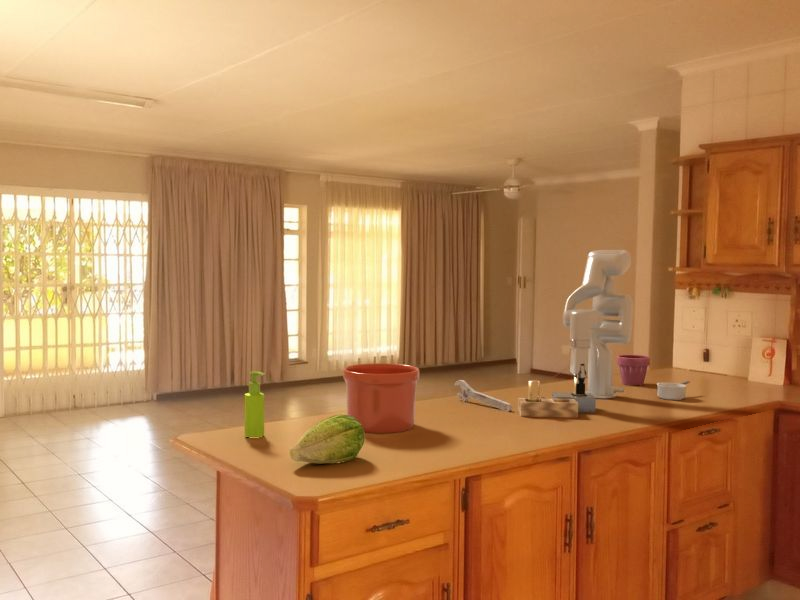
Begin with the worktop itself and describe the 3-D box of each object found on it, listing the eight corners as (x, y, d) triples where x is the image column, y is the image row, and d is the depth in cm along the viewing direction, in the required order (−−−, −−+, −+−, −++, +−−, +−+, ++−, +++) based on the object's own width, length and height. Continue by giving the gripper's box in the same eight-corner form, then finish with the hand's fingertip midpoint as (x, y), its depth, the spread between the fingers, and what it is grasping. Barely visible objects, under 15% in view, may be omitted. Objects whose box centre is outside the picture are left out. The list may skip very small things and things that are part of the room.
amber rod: (538, 413, 257) (538, 380, 256) (539, 415, 253) (540, 382, 252) (527, 413, 257) (527, 380, 256) (528, 415, 253) (529, 381, 252)
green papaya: (272, 441, 190) (293, 421, 180) (337, 420, 204) (360, 401, 195) (290, 486, 186) (313, 469, 176) (356, 461, 200) (380, 444, 191)
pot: (332, 421, 240) (333, 365, 239) (400, 415, 250) (401, 361, 249) (358, 438, 217) (358, 376, 217) (431, 431, 227) (432, 371, 226)
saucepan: (701, 396, 294) (701, 383, 294) (677, 402, 281) (678, 388, 281) (675, 392, 303) (675, 379, 303) (650, 398, 290) (651, 384, 289)
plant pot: (611, 381, 329) (612, 354, 328) (640, 381, 331) (641, 354, 330) (624, 387, 315) (625, 358, 314) (654, 386, 316) (655, 358, 316)
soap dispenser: (257, 440, 214) (257, 374, 213) (240, 437, 217) (240, 372, 216) (270, 436, 219) (270, 371, 218) (254, 433, 222) (254, 369, 221)
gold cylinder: (583, 408, 266) (583, 376, 265) (585, 410, 262) (586, 378, 261) (572, 408, 266) (572, 376, 265) (574, 410, 262) (575, 378, 261)
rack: (573, 412, 258) (573, 399, 258) (577, 417, 250) (578, 403, 250) (518, 411, 259) (518, 398, 259) (520, 416, 251) (520, 402, 251)
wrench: (507, 419, 259) (452, 398, 282) (511, 419, 260) (456, 397, 283) (510, 398, 258) (454, 378, 281) (513, 398, 259) (458, 378, 282)
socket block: (589, 407, 269) (589, 392, 268) (595, 412, 259) (595, 397, 258) (552, 406, 269) (552, 392, 269) (556, 411, 259) (556, 396, 259)
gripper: (565, 341, 271) (564, 389, 272) (574, 346, 255) (573, 397, 255) (585, 341, 271) (584, 389, 272) (595, 346, 254) (594, 397, 255)
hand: (579, 392), depth 264 cm, fingers closed on gold cylinder, 4 cm apart
